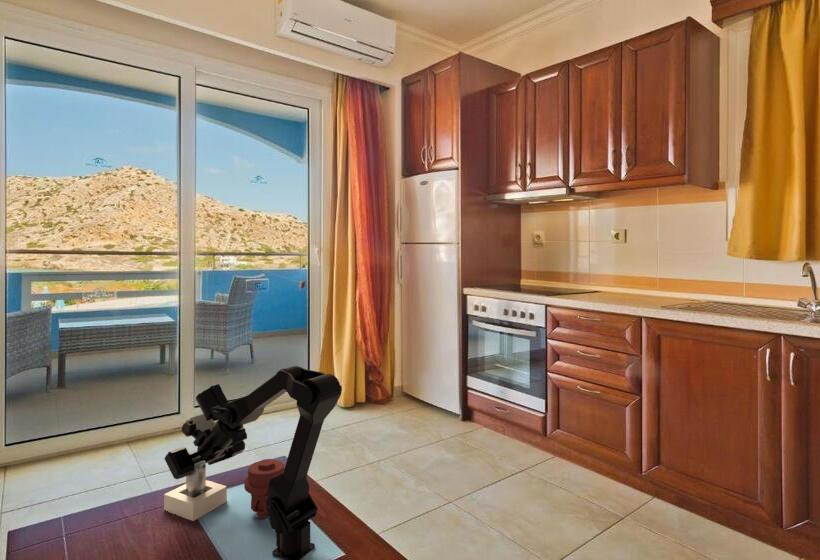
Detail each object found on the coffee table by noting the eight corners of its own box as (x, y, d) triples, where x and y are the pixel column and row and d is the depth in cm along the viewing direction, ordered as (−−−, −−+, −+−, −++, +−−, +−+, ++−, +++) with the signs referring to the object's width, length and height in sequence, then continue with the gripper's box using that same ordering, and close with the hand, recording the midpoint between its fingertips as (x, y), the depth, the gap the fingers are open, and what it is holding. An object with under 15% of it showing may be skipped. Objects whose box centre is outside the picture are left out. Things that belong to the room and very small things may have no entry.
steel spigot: (209, 506, 119) (208, 455, 118) (189, 513, 116) (189, 460, 115) (202, 499, 123) (202, 449, 122) (183, 505, 119) (182, 454, 119)
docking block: (226, 501, 122) (226, 486, 121) (193, 521, 113) (193, 504, 112) (198, 492, 126) (198, 477, 126) (164, 510, 117) (164, 494, 117)
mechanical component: (294, 504, 121) (275, 525, 111) (257, 499, 123) (235, 520, 113) (294, 456, 121) (275, 473, 111) (257, 452, 123) (236, 468, 113)
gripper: (237, 397, 124) (210, 431, 130) (169, 418, 108) (141, 455, 114) (259, 434, 120) (229, 467, 127) (191, 460, 104) (161, 496, 111)
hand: (192, 470), depth 120 cm, fingers open, 9 cm apart
